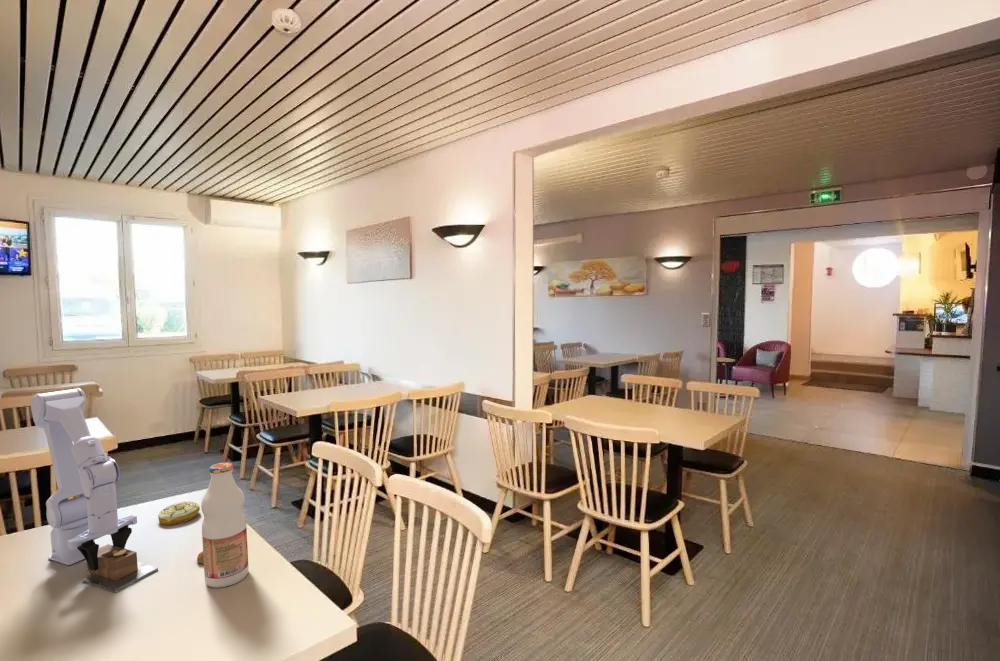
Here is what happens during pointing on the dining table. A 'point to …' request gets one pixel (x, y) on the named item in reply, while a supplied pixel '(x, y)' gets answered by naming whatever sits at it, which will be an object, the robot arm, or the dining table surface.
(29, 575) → the dining table surface
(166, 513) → the decorated donut
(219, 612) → the dining table surface
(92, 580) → the hook plate
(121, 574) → the block
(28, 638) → the dining table surface
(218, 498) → the fruit juice
